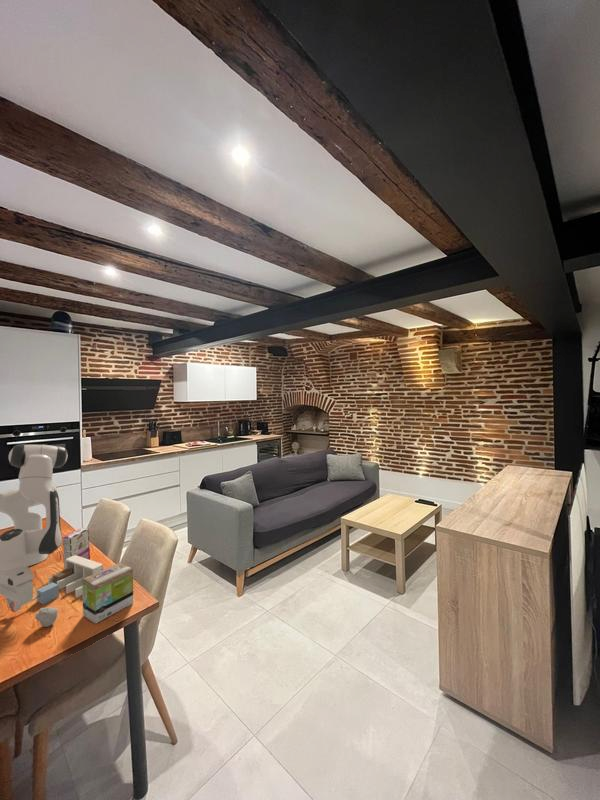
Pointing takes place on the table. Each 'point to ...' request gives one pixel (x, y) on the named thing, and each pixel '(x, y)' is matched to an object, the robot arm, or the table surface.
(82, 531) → the candy bar box
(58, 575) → the walnut block
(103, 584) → the tea box
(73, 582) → the lane shelf
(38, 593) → the tethered block
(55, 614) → the grey rounded lump
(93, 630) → the table surface
